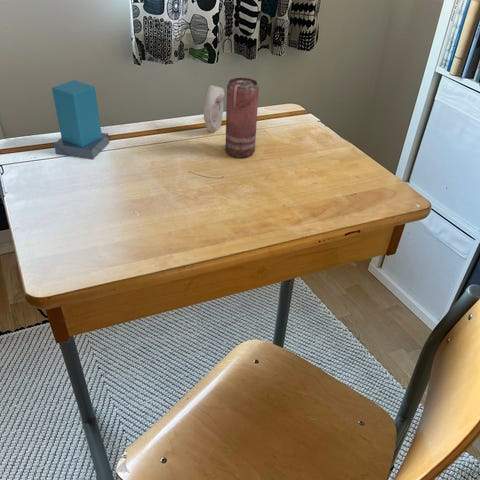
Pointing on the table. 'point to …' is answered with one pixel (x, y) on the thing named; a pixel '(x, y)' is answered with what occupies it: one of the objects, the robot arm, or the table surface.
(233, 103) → the can
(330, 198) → the table surface
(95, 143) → the peg stand
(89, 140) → the tall teal pillar
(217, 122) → the fossil
